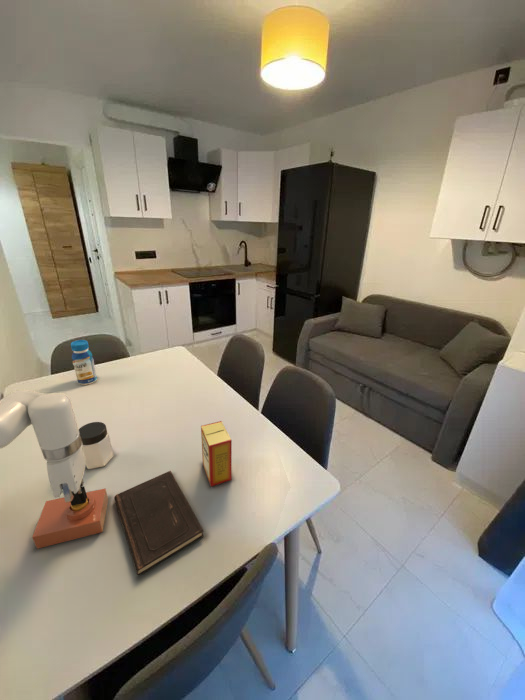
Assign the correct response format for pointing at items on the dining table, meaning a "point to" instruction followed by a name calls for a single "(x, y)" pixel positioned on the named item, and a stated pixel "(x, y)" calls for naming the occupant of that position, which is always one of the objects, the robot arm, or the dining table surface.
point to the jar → (95, 444)
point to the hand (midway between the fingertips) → (79, 501)
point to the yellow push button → (79, 506)
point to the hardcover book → (156, 521)
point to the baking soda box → (216, 452)
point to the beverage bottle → (83, 362)
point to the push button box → (70, 520)
